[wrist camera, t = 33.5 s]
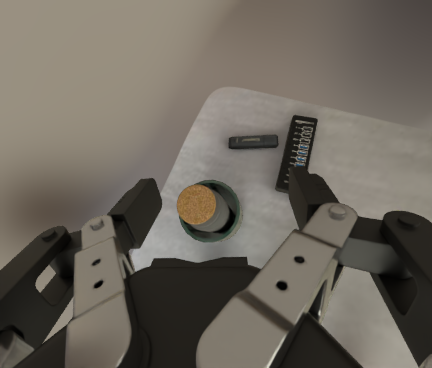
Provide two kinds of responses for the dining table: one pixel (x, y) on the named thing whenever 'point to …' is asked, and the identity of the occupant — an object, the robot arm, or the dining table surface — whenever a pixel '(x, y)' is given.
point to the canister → (233, 204)
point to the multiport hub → (296, 148)
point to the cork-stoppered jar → (204, 209)
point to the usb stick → (253, 142)
